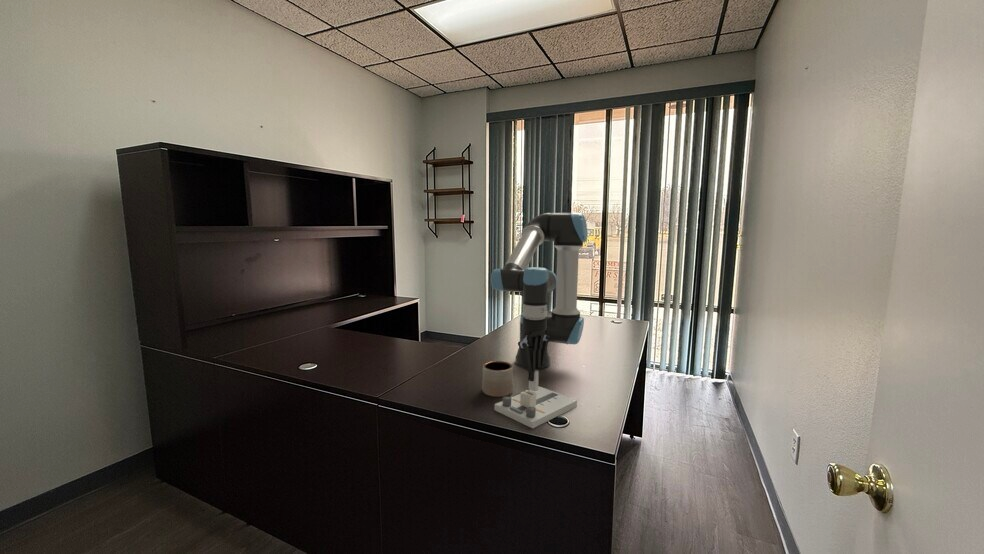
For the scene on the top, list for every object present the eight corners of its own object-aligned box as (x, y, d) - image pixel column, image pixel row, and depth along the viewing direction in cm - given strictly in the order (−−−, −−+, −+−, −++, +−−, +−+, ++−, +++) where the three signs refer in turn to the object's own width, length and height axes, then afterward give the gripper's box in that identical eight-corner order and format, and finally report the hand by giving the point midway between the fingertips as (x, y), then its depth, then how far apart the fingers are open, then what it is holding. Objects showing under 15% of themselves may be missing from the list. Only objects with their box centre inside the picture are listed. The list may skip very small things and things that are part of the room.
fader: (520, 404, 124) (520, 392, 123) (526, 401, 126) (526, 389, 125) (529, 408, 121) (530, 396, 120) (536, 405, 123) (536, 393, 123)
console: (494, 410, 125) (494, 397, 124) (539, 391, 140) (539, 380, 139) (532, 428, 113) (533, 414, 113) (576, 406, 128) (577, 394, 128)
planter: (481, 386, 144) (481, 360, 143) (510, 385, 145) (511, 360, 144) (483, 398, 134) (483, 371, 132) (514, 397, 134) (515, 370, 133)
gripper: (530, 322, 115) (528, 399, 118) (557, 316, 124) (555, 387, 126) (511, 318, 120) (510, 391, 123) (539, 312, 129) (537, 380, 132)
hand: (533, 389), depth 125 cm, fingers closed
